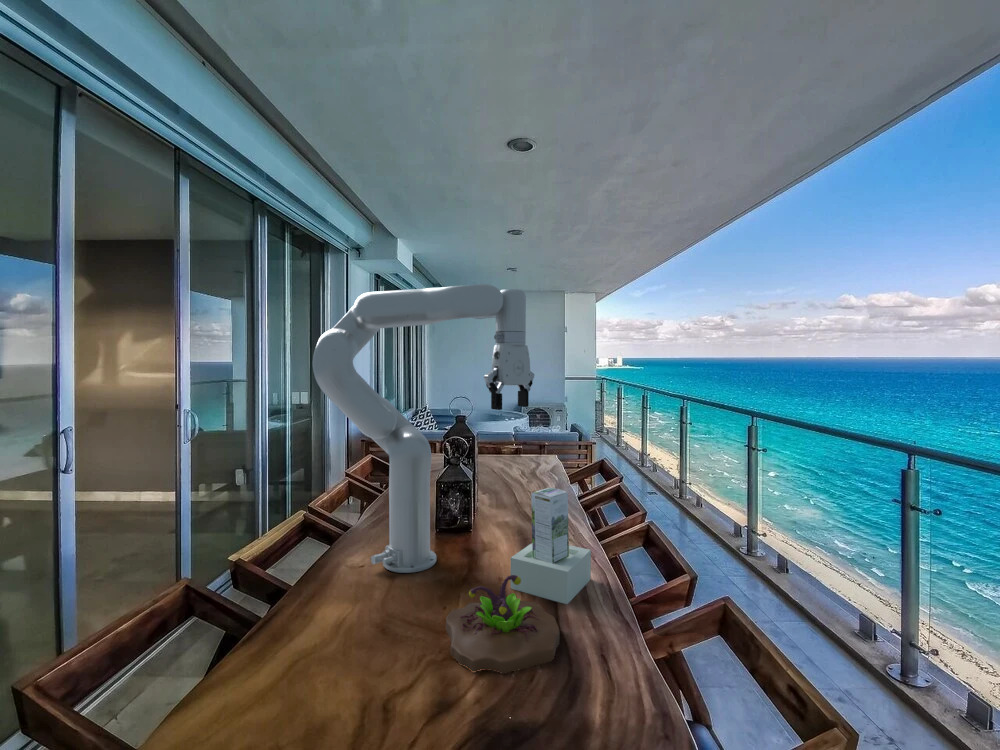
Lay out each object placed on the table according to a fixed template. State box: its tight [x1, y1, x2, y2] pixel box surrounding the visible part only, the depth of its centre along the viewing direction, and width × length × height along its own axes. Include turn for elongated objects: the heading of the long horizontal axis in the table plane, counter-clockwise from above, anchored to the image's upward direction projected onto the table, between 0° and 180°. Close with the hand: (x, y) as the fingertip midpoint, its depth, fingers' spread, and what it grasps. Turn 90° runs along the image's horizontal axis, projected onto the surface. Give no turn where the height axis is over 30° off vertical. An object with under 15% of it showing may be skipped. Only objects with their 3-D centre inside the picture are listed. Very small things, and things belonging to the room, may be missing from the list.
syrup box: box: [531, 487, 570, 564], centre depth 108 cm, size 6×6×14 cm
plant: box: [445, 574, 560, 674], centre depth 88 cm, size 20×20×11 cm
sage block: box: [510, 543, 592, 605], centre depth 109 cm, size 13×13×7 cm
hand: (510, 407), depth 125 cm, fingers open, 9 cm apart
